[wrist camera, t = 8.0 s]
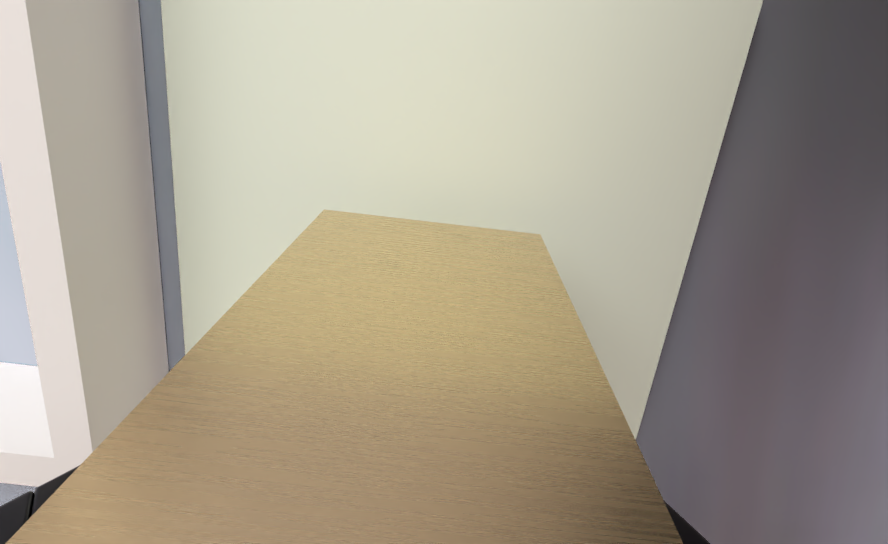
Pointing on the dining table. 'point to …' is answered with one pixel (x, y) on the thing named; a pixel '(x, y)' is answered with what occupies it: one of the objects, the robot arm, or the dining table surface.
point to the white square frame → (77, 230)
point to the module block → (376, 409)
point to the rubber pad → (457, 139)
